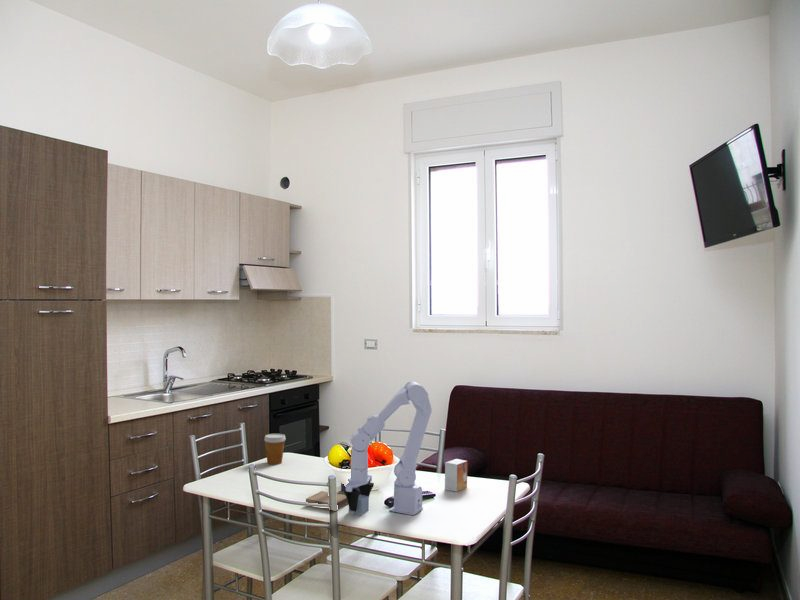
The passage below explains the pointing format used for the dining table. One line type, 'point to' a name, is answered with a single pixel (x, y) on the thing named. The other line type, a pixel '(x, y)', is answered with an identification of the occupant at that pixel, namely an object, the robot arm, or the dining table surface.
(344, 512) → the dining table surface
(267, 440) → the disposable coffee cup
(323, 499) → the walnut base
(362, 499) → the slate cube
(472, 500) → the dining table surface
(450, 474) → the small box
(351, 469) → the robot arm
